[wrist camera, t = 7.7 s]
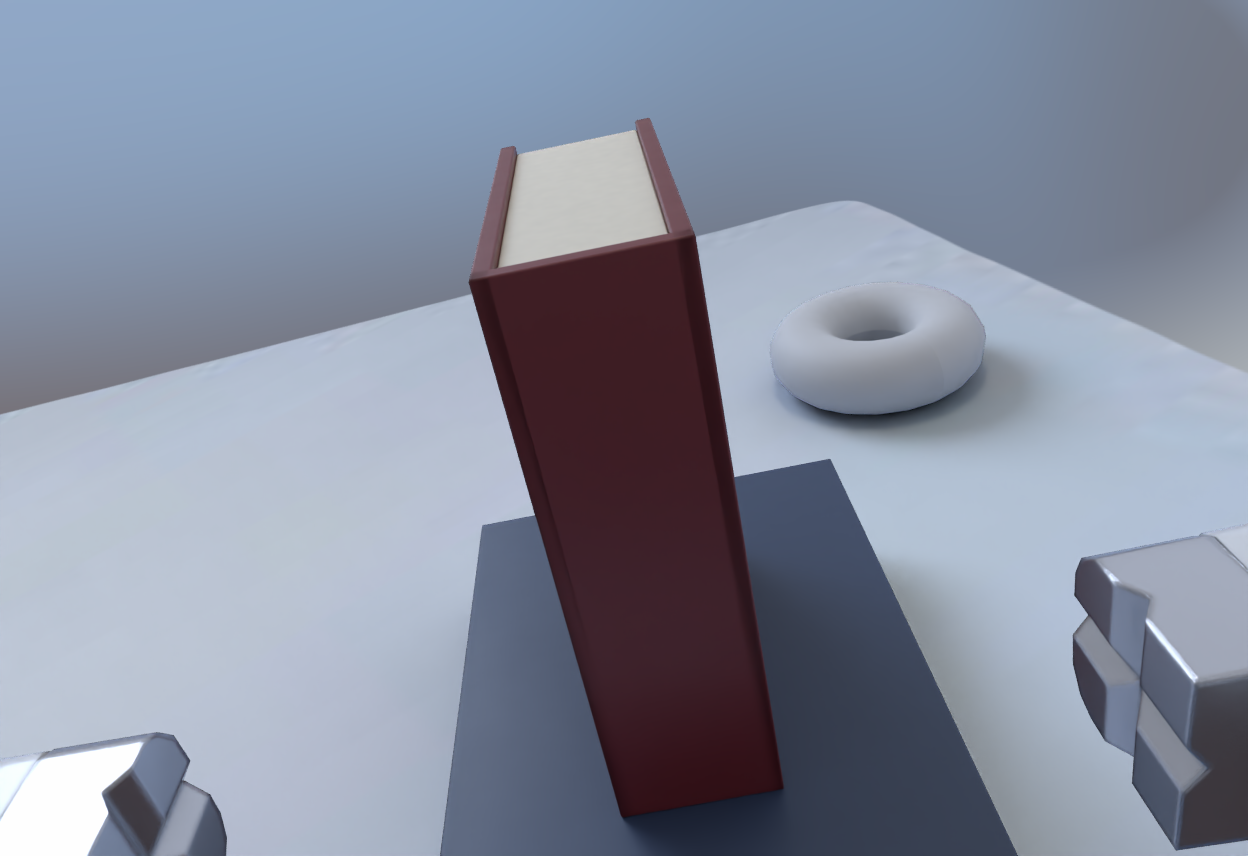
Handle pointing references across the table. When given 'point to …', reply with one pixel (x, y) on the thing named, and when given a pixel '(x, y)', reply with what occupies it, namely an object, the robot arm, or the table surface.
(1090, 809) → the table surface
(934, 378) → the donut
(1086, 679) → the robot arm
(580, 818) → the slate book
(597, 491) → the burgundy book
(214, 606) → the table surface
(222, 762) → the table surface
